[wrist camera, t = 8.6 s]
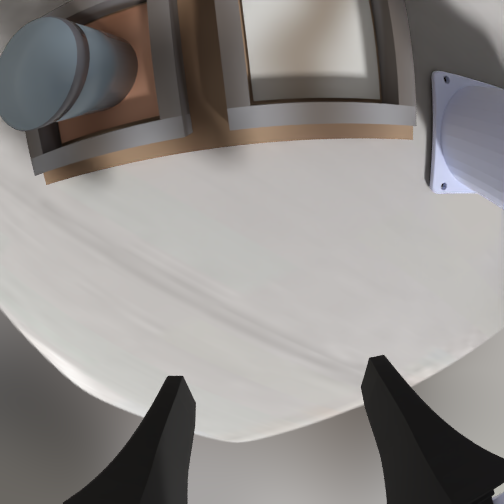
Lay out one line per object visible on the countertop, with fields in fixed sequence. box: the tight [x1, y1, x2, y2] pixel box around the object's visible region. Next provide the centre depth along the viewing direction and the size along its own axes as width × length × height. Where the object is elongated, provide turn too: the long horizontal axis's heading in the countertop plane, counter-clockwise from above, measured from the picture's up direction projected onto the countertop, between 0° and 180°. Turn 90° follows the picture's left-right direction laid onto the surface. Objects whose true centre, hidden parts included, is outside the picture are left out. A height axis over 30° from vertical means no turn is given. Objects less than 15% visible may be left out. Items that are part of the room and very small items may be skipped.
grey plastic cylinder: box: [0, 16, 138, 131], centre depth 9 cm, size 4×4×6 cm
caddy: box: [25, 0, 416, 185], centre depth 11 cm, size 22×11×3 cm, turn 96°
